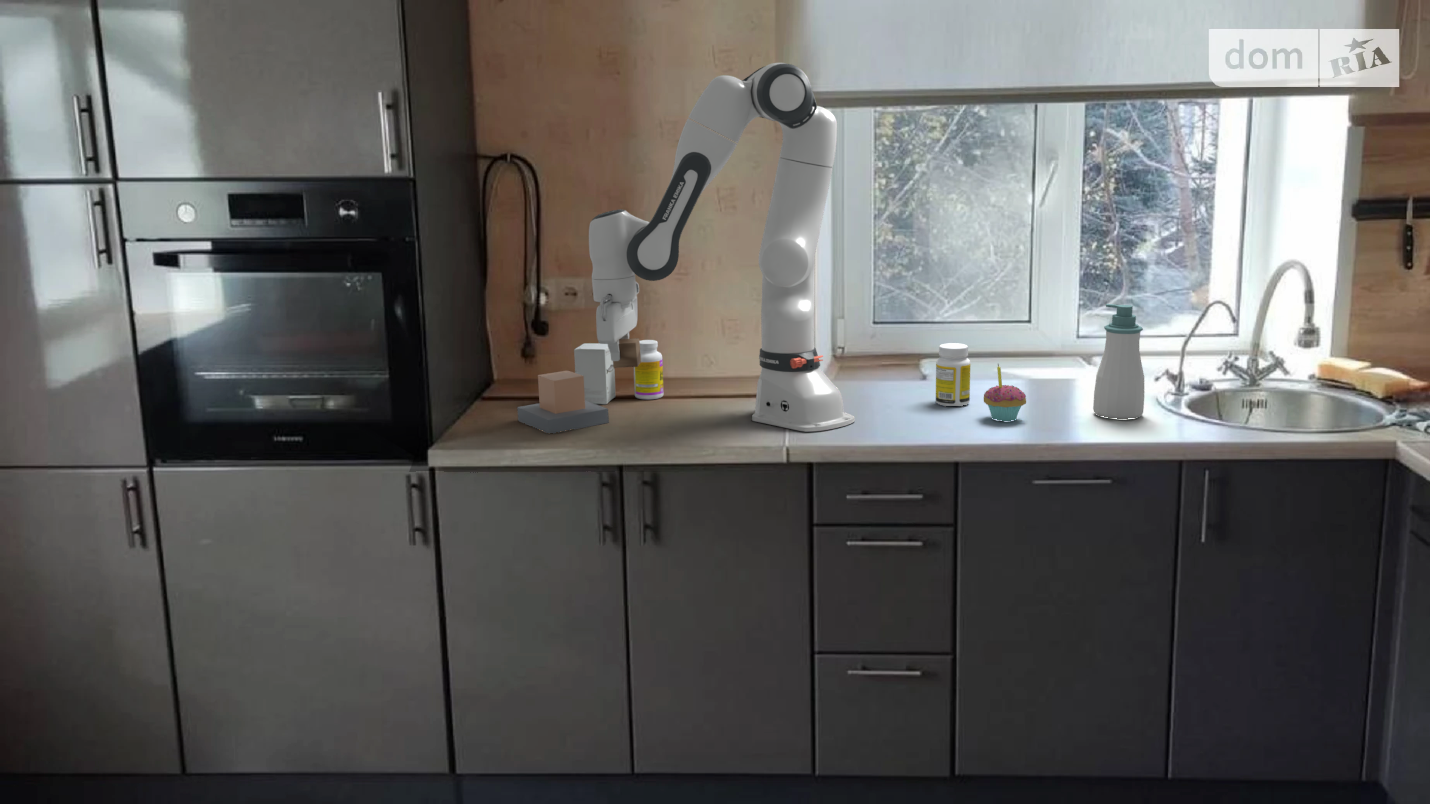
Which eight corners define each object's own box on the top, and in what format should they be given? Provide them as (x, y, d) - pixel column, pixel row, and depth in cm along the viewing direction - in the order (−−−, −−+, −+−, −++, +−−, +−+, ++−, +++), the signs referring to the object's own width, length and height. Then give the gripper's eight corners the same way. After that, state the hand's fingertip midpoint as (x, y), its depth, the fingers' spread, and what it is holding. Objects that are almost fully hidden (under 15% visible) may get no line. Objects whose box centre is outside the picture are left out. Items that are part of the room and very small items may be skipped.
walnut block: (641, 361, 239) (639, 338, 238) (637, 366, 234) (635, 342, 233) (617, 362, 239) (615, 339, 238) (613, 367, 235) (611, 343, 233)
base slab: (608, 422, 239) (608, 408, 239) (549, 434, 231) (548, 419, 231) (576, 410, 250) (575, 396, 250) (518, 420, 243) (517, 407, 242)
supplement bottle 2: (964, 399, 253) (966, 342, 250) (973, 406, 246) (975, 348, 243) (931, 400, 252) (932, 343, 249) (939, 408, 245) (941, 349, 242)
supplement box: (607, 404, 255) (604, 349, 252) (575, 404, 256) (572, 348, 253) (616, 397, 262) (614, 342, 259) (585, 396, 263) (583, 342, 260)
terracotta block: (585, 408, 239) (583, 375, 238) (555, 413, 236) (553, 380, 234) (569, 402, 245) (567, 370, 243) (539, 407, 241) (537, 375, 239)
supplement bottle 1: (665, 399, 258) (663, 343, 255) (636, 401, 257) (633, 345, 254) (662, 392, 265) (660, 338, 262) (633, 394, 264) (631, 339, 261)
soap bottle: (1106, 407, 243) (1113, 300, 237) (1151, 414, 236) (1159, 305, 231) (1084, 416, 236) (1090, 306, 231) (1129, 424, 229) (1136, 311, 224)
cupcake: (1001, 426, 230) (1003, 368, 227) (973, 417, 237) (975, 361, 234) (1034, 420, 233) (1036, 363, 230) (1005, 412, 241) (1007, 356, 238)
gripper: (617, 298, 223) (622, 367, 226) (640, 283, 242) (645, 347, 246) (585, 299, 224) (592, 368, 227) (611, 284, 243) (617, 348, 247)
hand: (620, 357), depth 236 cm, fingers closed on walnut block, 5 cm apart
